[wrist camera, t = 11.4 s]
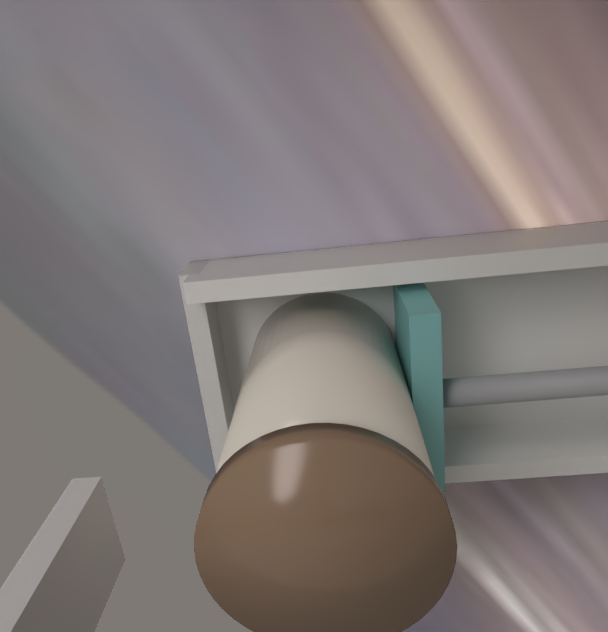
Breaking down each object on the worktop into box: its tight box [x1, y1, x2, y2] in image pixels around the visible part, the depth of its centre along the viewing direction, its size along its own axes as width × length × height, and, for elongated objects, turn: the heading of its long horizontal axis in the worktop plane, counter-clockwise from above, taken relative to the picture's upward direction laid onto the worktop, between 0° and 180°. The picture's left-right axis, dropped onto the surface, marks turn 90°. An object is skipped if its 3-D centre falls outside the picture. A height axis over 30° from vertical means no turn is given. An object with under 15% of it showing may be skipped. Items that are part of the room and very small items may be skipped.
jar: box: [194, 292, 457, 632], centre depth 18 cm, size 6×6×11 cm
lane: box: [178, 221, 608, 484], centre depth 21 cm, size 9×22×5 cm, turn 96°
